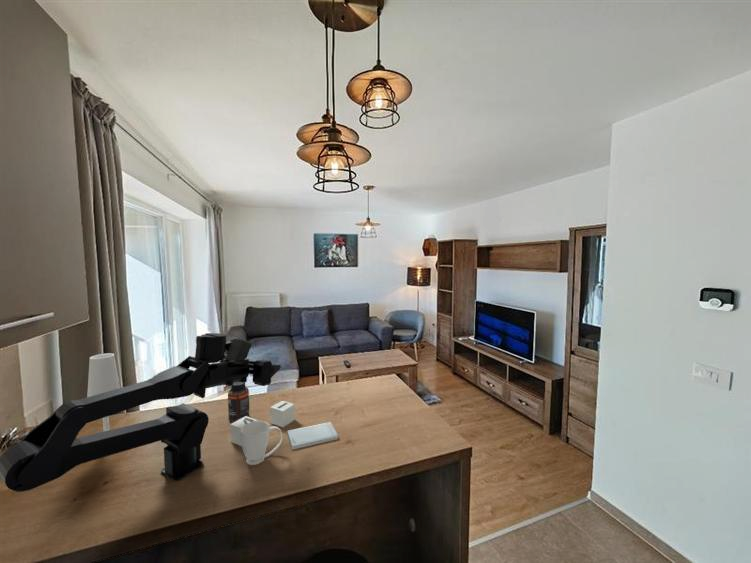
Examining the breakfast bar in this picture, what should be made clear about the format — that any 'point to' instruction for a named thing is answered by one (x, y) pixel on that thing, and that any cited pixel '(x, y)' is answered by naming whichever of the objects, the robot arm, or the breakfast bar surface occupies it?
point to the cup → (256, 441)
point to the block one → (282, 413)
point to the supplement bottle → (238, 401)
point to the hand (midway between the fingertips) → (269, 365)
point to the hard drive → (311, 435)
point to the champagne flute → (102, 378)
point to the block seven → (236, 428)
